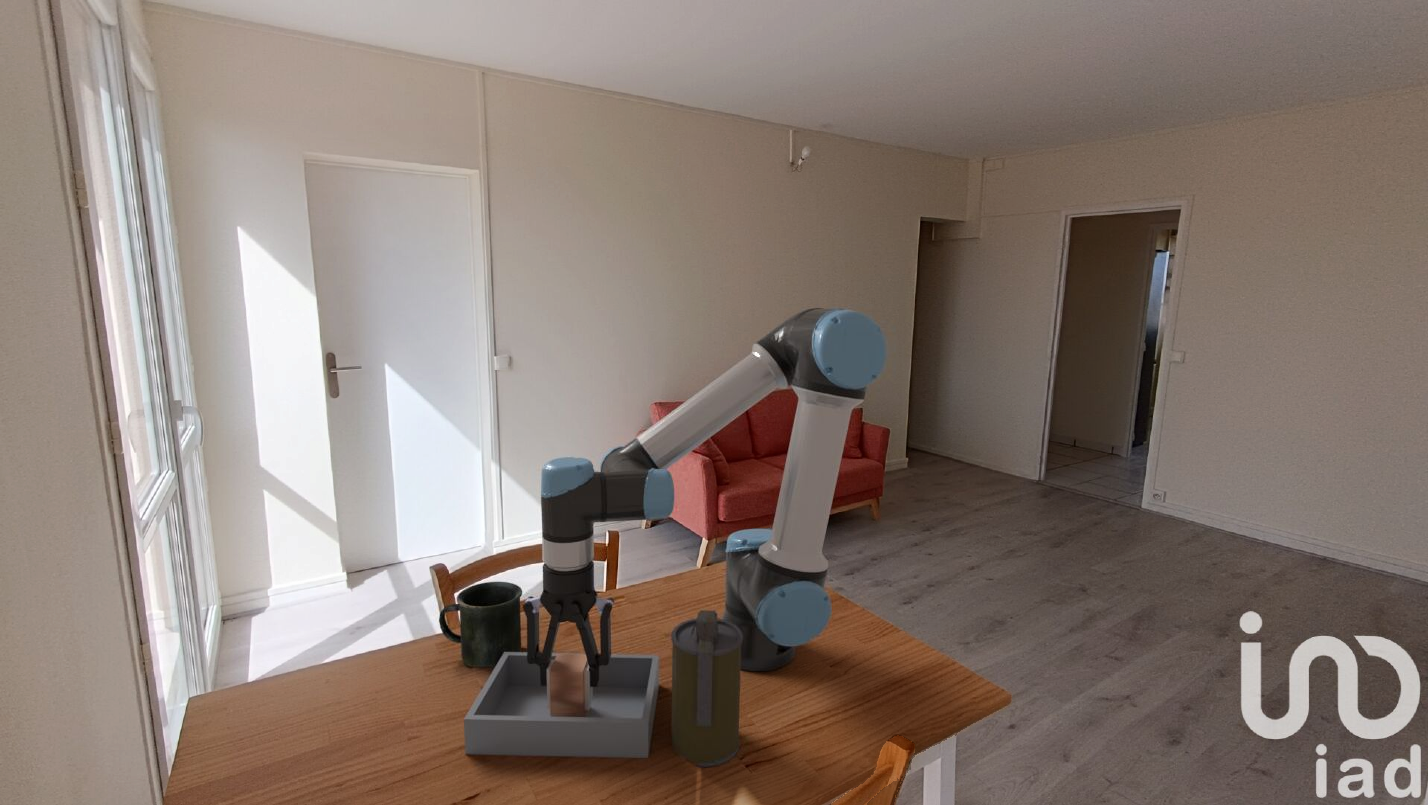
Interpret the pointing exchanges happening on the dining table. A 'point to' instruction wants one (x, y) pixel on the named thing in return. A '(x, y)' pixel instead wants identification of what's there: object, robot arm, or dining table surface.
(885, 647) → the dining table surface
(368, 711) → the dining table surface
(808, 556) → the robot arm
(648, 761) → the dining table surface
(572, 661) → the block
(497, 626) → the mug
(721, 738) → the canister
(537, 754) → the bin
